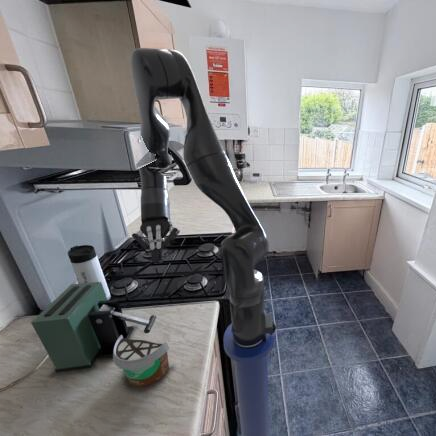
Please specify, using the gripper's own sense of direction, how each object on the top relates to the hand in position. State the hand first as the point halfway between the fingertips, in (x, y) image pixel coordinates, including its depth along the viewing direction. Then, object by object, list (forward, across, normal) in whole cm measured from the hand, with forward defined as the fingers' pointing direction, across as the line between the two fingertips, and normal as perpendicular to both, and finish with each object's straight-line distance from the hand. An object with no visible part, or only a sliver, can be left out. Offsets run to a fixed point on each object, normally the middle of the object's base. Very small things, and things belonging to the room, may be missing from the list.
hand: (158, 262), depth 67 cm
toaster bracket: (+20, -13, +4) cm, 24 cm away
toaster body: (+19, -19, +4) cm, 27 cm away
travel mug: (+7, -26, +19) cm, 33 cm away
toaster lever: (+14, -9, 0) cm, 16 cm away
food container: (+28, -2, -5) cm, 28 cm away
